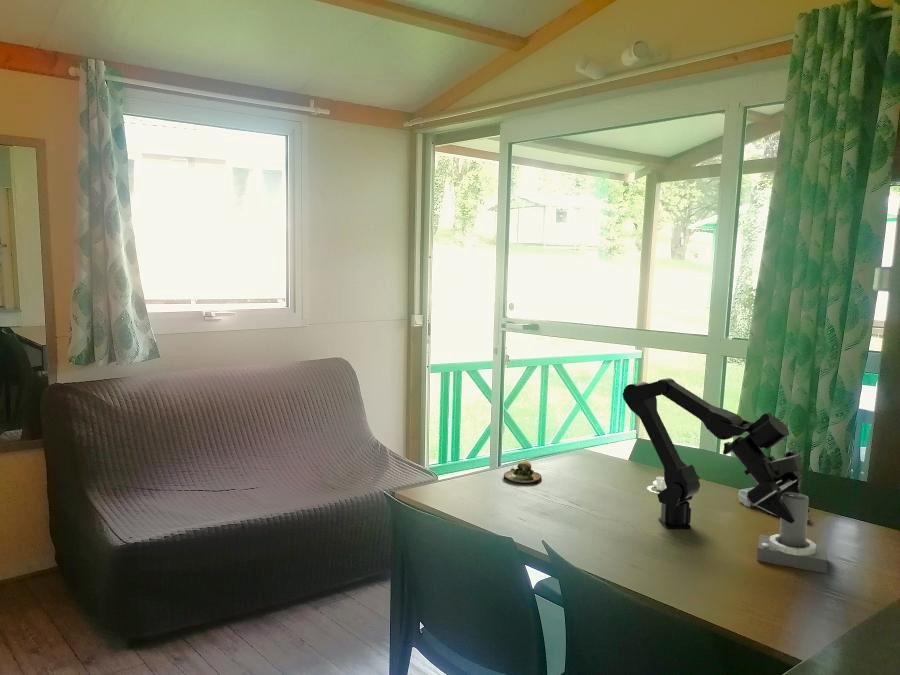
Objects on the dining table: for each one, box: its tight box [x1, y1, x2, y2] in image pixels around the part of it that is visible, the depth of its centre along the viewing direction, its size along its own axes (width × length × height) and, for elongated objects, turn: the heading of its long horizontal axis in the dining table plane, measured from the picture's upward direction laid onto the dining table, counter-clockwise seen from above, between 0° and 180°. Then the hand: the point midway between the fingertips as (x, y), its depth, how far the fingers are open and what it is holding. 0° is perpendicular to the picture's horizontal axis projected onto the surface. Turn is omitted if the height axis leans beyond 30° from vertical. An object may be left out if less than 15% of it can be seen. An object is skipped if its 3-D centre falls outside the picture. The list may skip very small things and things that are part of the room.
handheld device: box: [737, 486, 811, 521], centre depth 189 cm, size 10×20×5 cm, turn 25°
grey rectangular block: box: [756, 533, 828, 575], centre depth 157 cm, size 14×9×4 cm
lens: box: [778, 492, 810, 548], centre depth 156 cm, size 6×6×12 cm
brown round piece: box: [503, 455, 543, 485], centre depth 214 cm, size 12×12×8 cm
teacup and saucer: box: [646, 476, 666, 494], centre depth 206 cm, size 9×8×4 cm
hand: (800, 517), depth 155 cm, fingers open, 9 cm apart
